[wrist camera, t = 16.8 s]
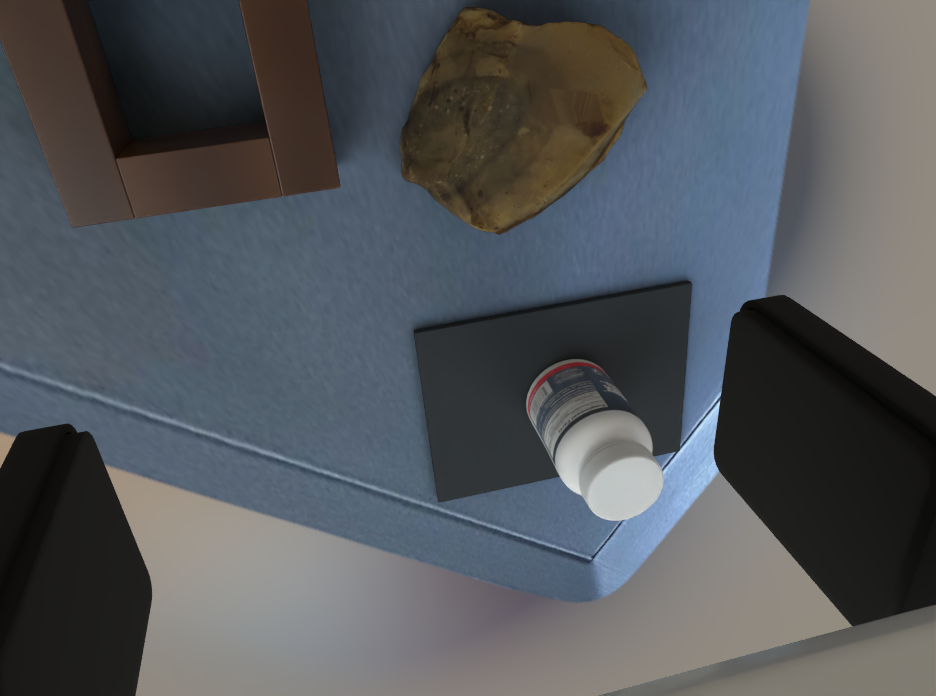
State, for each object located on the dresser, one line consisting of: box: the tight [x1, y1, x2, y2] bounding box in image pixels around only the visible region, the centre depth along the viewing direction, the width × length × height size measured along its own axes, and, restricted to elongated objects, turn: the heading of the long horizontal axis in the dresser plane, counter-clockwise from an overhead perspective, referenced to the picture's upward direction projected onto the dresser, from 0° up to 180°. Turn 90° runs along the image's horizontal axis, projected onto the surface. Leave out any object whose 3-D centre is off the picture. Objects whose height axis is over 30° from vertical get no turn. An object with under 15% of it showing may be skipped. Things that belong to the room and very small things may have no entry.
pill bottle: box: [526, 359, 664, 521], centre depth 39 cm, size 5×5×9 cm
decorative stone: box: [400, 7, 647, 235], centre depth 33 cm, size 10×9×4 cm
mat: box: [414, 281, 692, 502], centre depth 43 cm, size 16×12×1 cm
